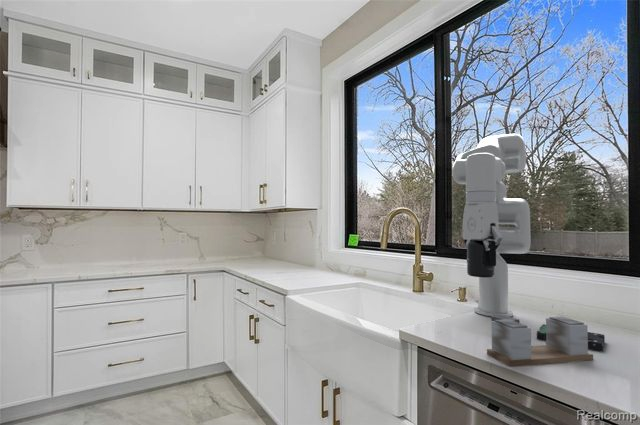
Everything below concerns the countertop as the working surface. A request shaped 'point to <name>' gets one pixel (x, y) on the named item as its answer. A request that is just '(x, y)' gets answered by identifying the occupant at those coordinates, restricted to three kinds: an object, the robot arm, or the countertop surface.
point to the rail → (561, 345)
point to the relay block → (500, 317)
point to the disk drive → (594, 339)
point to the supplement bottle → (477, 260)
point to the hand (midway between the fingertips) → (480, 263)
